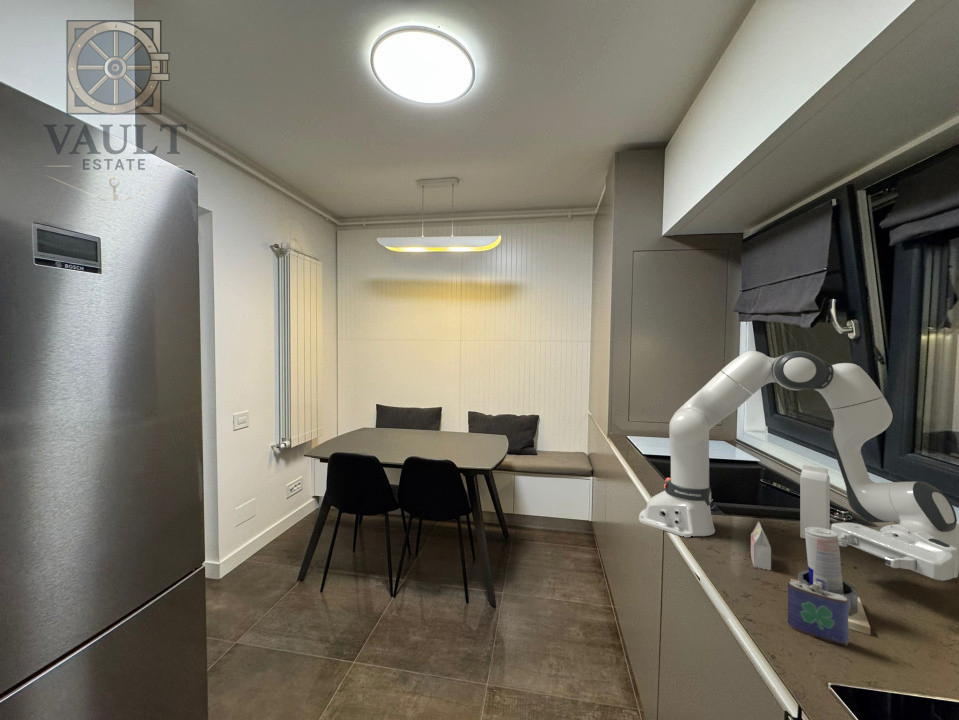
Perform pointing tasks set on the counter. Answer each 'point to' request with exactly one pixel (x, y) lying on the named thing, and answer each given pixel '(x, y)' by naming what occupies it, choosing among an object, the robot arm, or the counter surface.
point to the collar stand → (855, 608)
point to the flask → (818, 612)
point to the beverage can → (824, 559)
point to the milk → (814, 498)
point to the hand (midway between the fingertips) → (862, 552)
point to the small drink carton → (760, 548)
